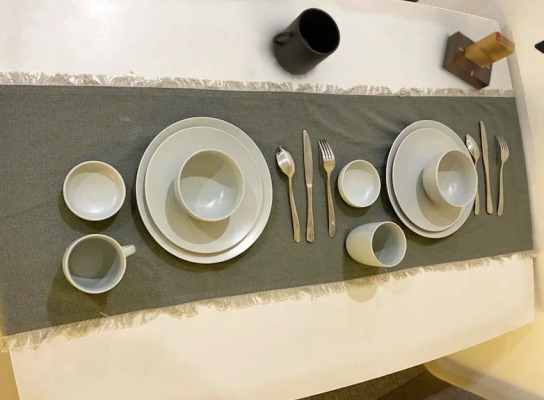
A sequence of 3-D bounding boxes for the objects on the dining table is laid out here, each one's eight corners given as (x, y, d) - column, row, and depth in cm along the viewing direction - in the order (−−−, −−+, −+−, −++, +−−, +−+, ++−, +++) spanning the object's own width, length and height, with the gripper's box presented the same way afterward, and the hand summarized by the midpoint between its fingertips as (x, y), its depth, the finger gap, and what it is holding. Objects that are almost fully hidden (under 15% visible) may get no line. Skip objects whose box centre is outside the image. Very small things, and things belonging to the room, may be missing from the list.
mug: (260, 27, 94) (282, 1, 86) (311, 34, 98) (337, 11, 90) (264, 71, 92) (287, 50, 84) (316, 77, 97) (343, 57, 89)
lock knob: (483, 59, 114) (516, 43, 106) (482, 68, 113) (515, 52, 105) (465, 47, 112) (497, 30, 104) (464, 56, 111) (495, 39, 104)
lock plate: (483, 58, 118) (495, 52, 116) (478, 92, 115) (489, 87, 112) (448, 35, 115) (459, 28, 112) (441, 69, 112) (452, 63, 109)
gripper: (657, -111, 81) (535, -34, 100) (654, 3, 73) (523, 63, 92) (683, -86, 83) (559, -15, 102) (683, 27, 75) (549, 81, 95)
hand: (541, 22), depth 97 cm, fingers open, 13 cm apart
